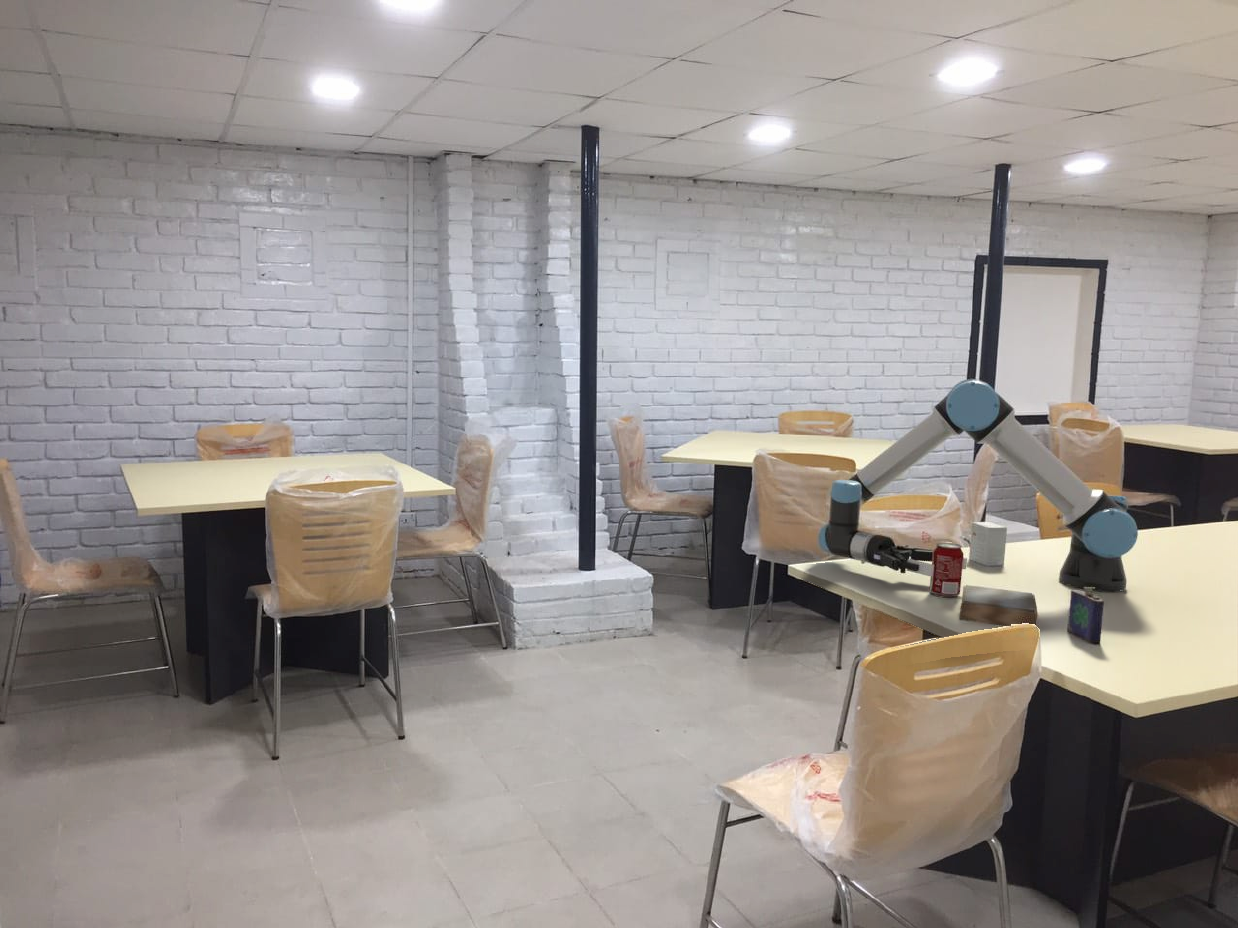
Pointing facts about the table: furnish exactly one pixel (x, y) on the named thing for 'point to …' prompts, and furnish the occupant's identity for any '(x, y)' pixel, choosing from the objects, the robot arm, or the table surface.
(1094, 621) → the flask
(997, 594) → the riser
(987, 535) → the small box
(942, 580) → the soda can
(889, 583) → the table surface
